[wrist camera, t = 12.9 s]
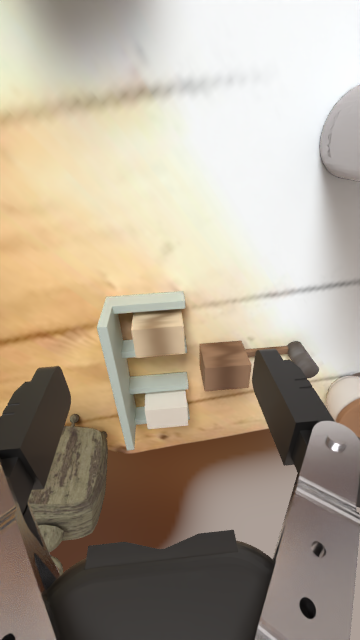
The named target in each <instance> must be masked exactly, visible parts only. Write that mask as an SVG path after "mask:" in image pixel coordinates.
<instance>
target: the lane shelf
mask: <svg viewBox="0 0 360 640" xmlns="http://www.w3.org/2000/svg"><path fill="white" fill-rule="evenodd" d="M184 308H185V299H184V293H183V291H179V292H166V293H152V294H139V295H125V296H112V297H106V300H105V303H104V306H103V309H102V313H101V316H100V319H99V322H98V325H97V330H98V334H99V338H100V342H101V346H102V350H103V354H104V358H105V363H106V367H107V371H108V375H109V379H110V383H111V387H112V391H113V395H114V399H115V403H116V407H117V411H118V415H119V419H120V423H121V427H122V431H123V436H124V440H125V444H126V448H127V450H134V445H135V430H136V425H137V424H147V421H146V415H145V407H136V405H135V400H134V395H133V394H140V393H151V392H163V391H174V390H185V389H188V379H187V372H179V373H168V374H156V375H145V376H133V377H130V374H129V368H128V363H127V358H131V357H136V355H135V349H134V343H133V340H123V337H122V332H121V327H120V321H119V316H118V314H119V313H132V312H145V311H158V310H171V309H184ZM184 341H185V353H187V345H186V339H185V335H184ZM187 410H188V420H190V417H189V408H188V403H187Z"/></svg>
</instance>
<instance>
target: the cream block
mask: <svg viewBox="0 0 360 640" xmlns="http://www.w3.org/2000/svg"><path fill="white" fill-rule="evenodd" d="M145 415H146V421H147V427H148V429H156V428H166V427H176V426H187V425H188V410H187V400H186V392H185V390H174V391H163V392H151V393H145Z"/></svg>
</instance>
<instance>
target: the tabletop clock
mask: <svg viewBox="0 0 360 640" xmlns="http://www.w3.org/2000/svg"><path fill="white" fill-rule="evenodd" d="M78 420H79V416H78V415H77V414H73V415H72V416H71V417H70V421H71V423H72V424H71V426H64V428H63V431H62V434H61V437H60V441H59V444H58V447H57V450H56V453H55V456H54V459H53V463H52V466H51V469H50V472H49V475H48V478H47V481H46V484H45V488H44V489H38V490H32V491H31V494H30V497H29V499H28V502H29V504H30V506H31V509H32V511H33V514H34V517H35V519H36V522H37V524H38V527H39V529H40V532H41V534H42V537H43V539H44V542H45V544H46V547H47V549H48V552H51V551H52V550H54V549H55V548H56V547H57V546H58V545H59V544H60V542H61V541H62V540H72V539H78V538H81V537H84V536H86V535H89V534H90V533H92V532H93V530H94V528H95V526H96V524H97V522H98V519H99V516H100V512H101V509H102V504H103V500H104V495H105V488H106V473H107V454H108V446H107V439H106V438H107V433H106V432H104V431H103V432H100V431H98V430H96V429H92V428H84V427H74V426H75V423H76V422H78ZM50 556H51V555H50ZM51 558H52V560H53V561H54V563H55V565H56V566H57V567H58V568H59V574H60V576H61V575H62V574H63V568H62V564H61V563H60V561H59V560H58V559H57V558H55V557H52V556H51Z"/></svg>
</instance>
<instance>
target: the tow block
mask: <svg viewBox="0 0 360 640" xmlns="http://www.w3.org/2000/svg"><path fill="white" fill-rule="evenodd" d="M264 349H276V350H277V351H278V353H279V354H288V355H289V357H290V358H291V360H292V361H293V363H294V364H296V365H297V366H298V367H300V368H301V370H302V371H303V373H304V374H305V376H306V378H311V377H313V376H315V375H316V374H317V373H318V371H319V368H318V366H317V365H316V363H315V362H314V361H313V359H312V358H311V357H310V355H309V354H308V352H307V351H306V350H305V348H304V347H303V346H302V344H301V343H300V342H297V341H295V342H291V343H290V344H288V345H287V346H283V347H270V348H257V349H244V346H243V344H242V342H241V341H233V342H220V343H206V344H200V370H201V375H202V380H203V385H204V390H205V391H213V390H225V389H237V388H248V387H249V380H250V372H251V362H250V360H249V358H248V357H251V356H255V353H256V351H257V350H264Z"/></svg>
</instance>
